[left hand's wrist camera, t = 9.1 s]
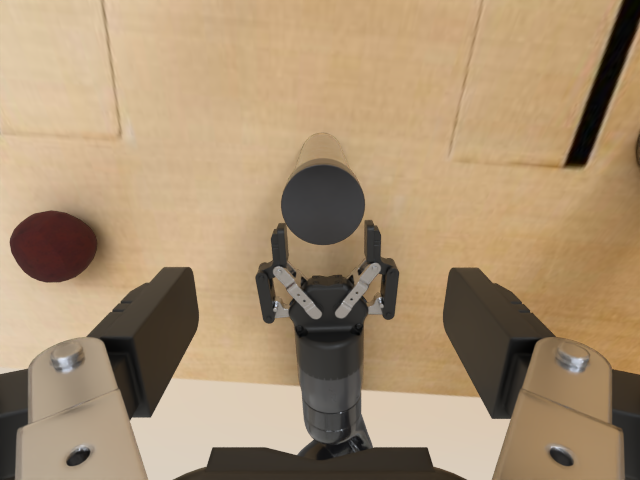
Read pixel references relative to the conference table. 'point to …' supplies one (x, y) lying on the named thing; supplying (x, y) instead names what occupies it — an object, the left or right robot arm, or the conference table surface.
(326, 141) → the metal cylinder
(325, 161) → the lid
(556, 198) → the conference table surface
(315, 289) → the right robot arm
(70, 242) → the maroon ball
